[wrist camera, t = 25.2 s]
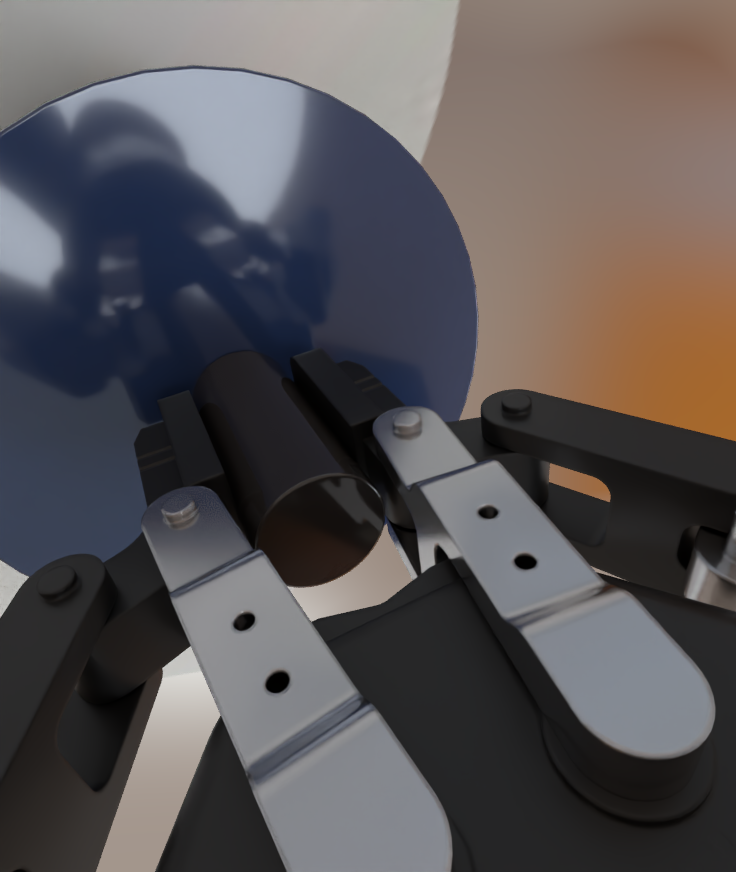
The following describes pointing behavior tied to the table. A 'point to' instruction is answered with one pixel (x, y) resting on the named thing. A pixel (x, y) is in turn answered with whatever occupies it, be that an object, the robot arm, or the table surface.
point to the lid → (213, 305)
